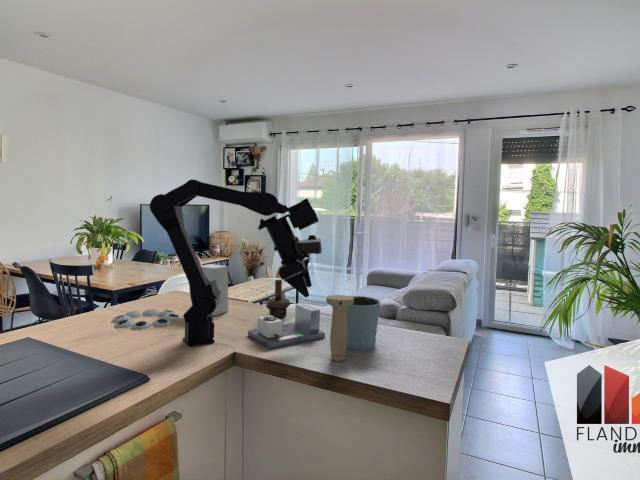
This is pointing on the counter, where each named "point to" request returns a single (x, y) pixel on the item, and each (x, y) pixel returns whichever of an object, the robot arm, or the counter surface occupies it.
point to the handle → (339, 325)
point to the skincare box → (218, 285)
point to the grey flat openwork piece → (127, 318)
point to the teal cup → (362, 323)
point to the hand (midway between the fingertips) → (308, 291)
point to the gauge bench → (294, 329)
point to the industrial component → (278, 302)
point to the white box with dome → (270, 326)
